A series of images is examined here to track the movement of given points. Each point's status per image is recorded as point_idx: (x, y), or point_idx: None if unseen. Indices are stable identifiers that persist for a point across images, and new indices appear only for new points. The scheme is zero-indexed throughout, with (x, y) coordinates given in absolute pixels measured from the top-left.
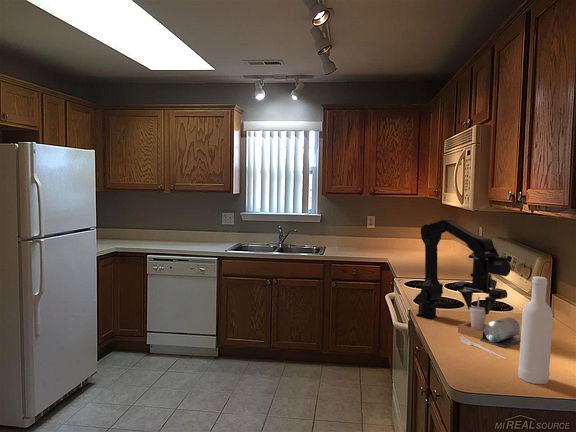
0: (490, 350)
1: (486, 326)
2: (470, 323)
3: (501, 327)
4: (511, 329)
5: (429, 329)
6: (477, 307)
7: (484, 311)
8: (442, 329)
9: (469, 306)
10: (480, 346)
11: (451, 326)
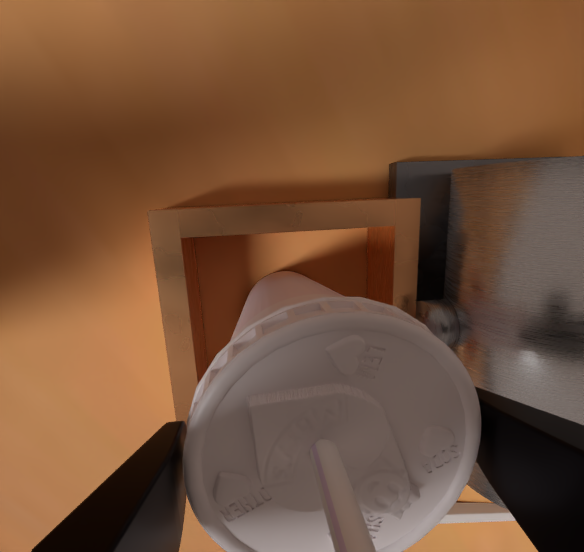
0: (509, 512)
1: (483, 486)
2: (188, 294)
3: None
4: None
5: (39, 538)
6: (319, 468)
7: (459, 461)
8: (81, 457)
9: (181, 524)
10: (454, 522)
11: (45, 332)
